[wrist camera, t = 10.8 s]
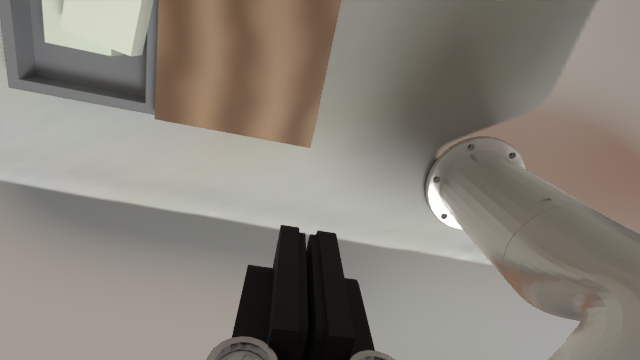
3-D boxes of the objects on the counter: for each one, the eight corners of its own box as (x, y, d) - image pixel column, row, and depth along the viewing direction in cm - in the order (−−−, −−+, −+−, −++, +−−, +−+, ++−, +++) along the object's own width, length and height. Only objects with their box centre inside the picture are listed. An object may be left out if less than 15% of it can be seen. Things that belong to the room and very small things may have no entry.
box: (172, -55, 33) (161, -64, 30) (165, 109, 39) (155, 114, 36) (13, -95, 31) (-15, -108, 28) (30, 83, 37) (8, 87, 34)
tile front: (155, -9, 32) (144, -13, 29) (142, 55, 34) (130, 56, 31) (86, -39, 31) (69, -45, 28) (77, 29, 33) (60, 29, 30)
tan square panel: (339, -13, 35) (345, -20, 31) (309, 136, 41) (310, 147, 37) (178, -54, 33) (160, -67, 29) (170, 110, 39) (154, 118, 35)
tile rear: (39, -29, 31) (57, -24, 33) (44, 42, 33) (61, 41, 35) (110, -12, 31) (123, -9, 34) (111, 56, 34) (123, 54, 36)
